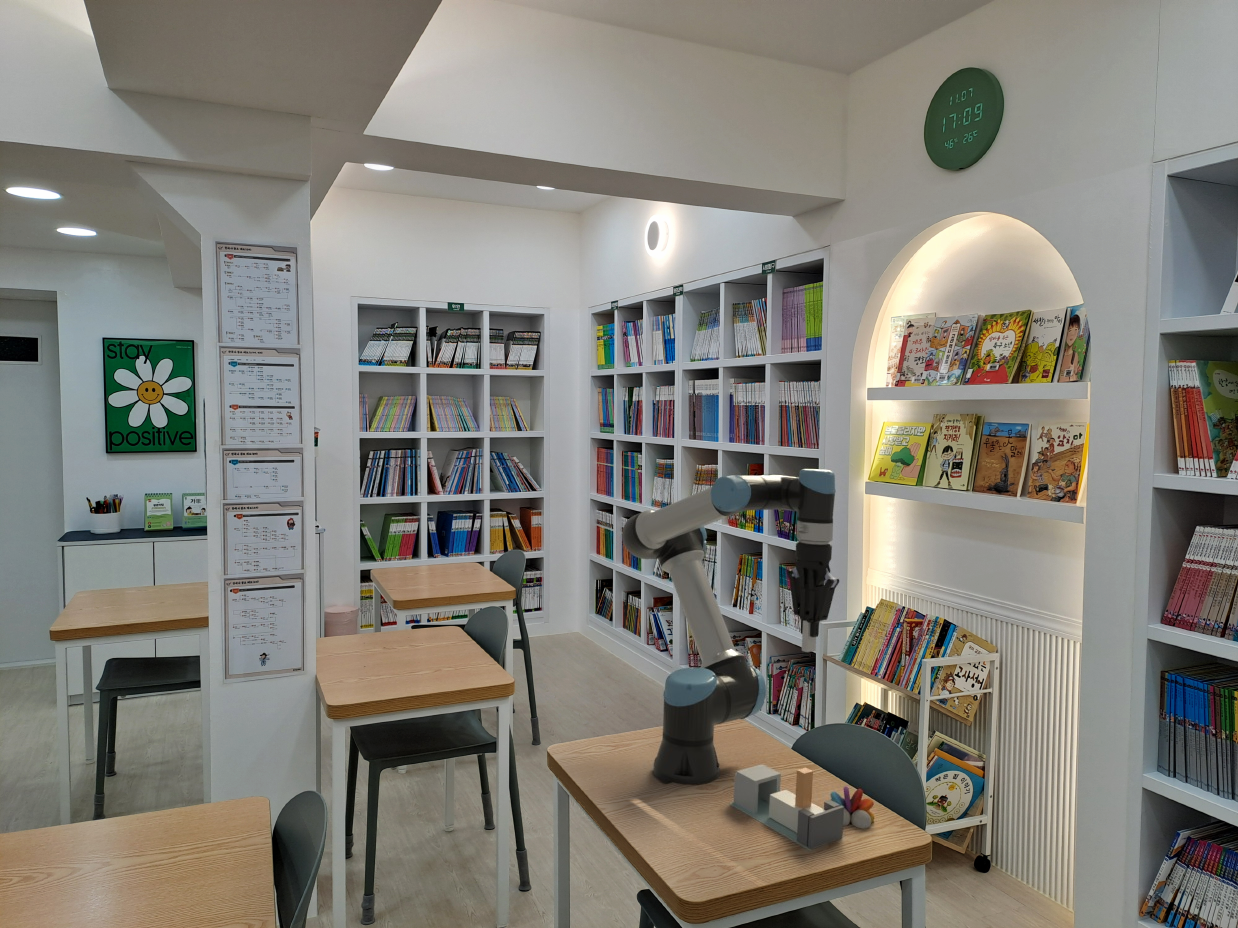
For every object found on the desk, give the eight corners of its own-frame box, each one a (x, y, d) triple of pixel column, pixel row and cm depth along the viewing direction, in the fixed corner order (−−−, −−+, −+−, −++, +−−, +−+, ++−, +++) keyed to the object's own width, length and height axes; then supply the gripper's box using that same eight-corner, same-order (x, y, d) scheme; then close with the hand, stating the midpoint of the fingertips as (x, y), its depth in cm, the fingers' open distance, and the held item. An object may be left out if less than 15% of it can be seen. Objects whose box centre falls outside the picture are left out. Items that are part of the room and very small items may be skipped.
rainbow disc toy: (875, 835, 164) (877, 799, 164) (825, 828, 166) (827, 793, 166) (871, 816, 172) (873, 782, 172) (824, 810, 174) (825, 776, 174)
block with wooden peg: (768, 816, 167) (771, 760, 167) (784, 811, 170) (787, 755, 170) (814, 842, 158) (817, 782, 157) (830, 836, 160) (833, 777, 160)
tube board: (728, 808, 173) (730, 771, 173) (763, 797, 179) (764, 761, 179) (808, 854, 155) (810, 814, 155) (843, 841, 161) (846, 801, 161)
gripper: (779, 538, 180) (774, 645, 181) (825, 546, 169) (820, 660, 170) (803, 536, 184) (797, 641, 185) (850, 544, 174) (844, 655, 175)
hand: (808, 650), depth 178 cm, fingers closed
